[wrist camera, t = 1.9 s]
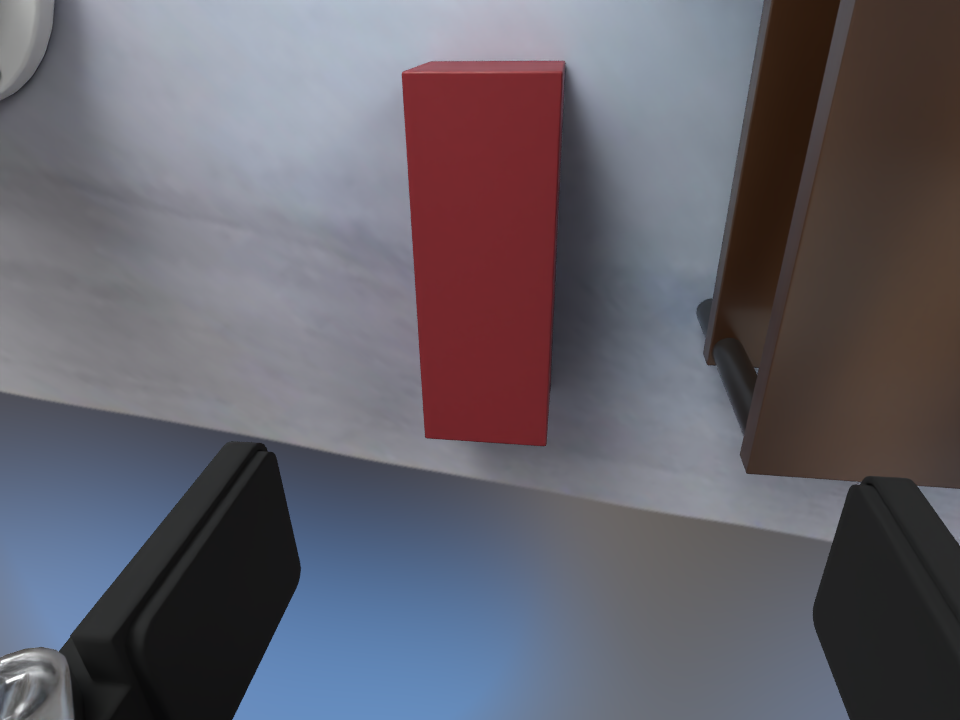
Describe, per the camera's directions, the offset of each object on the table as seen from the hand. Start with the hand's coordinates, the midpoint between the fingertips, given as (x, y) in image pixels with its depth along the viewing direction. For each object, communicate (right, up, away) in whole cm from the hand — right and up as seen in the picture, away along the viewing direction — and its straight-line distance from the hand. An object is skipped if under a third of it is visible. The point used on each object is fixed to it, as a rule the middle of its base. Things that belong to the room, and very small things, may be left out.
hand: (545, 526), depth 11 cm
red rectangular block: (0, +8, +18) cm, 20 cm away
